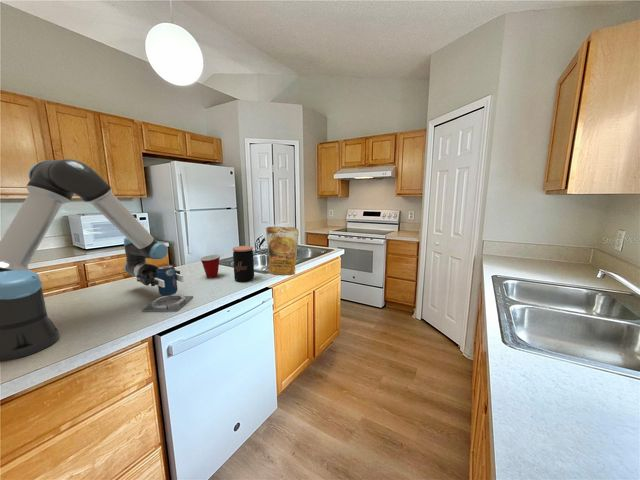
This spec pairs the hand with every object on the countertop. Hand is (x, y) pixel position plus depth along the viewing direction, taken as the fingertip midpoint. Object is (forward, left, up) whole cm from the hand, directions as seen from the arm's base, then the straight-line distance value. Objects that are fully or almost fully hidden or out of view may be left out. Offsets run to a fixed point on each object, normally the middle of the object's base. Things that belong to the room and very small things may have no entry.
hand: (173, 281), depth 106 cm
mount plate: (-4, +3, -11) cm, 12 cm away
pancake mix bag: (+40, +45, -11) cm, 61 cm away
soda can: (-4, +3, -7) cm, 8 cm away
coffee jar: (+20, +35, -11) cm, 42 cm away
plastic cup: (0, +40, -11) cm, 41 cm away
